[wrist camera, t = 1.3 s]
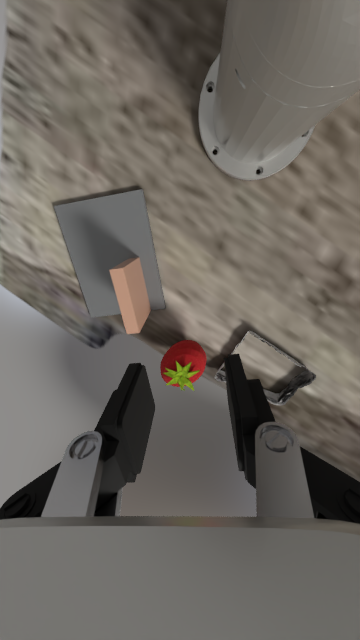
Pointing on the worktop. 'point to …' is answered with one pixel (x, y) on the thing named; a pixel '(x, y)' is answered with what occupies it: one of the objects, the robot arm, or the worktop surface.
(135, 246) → the mat
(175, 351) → the strawberry
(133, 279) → the tile
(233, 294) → the worktop surface
